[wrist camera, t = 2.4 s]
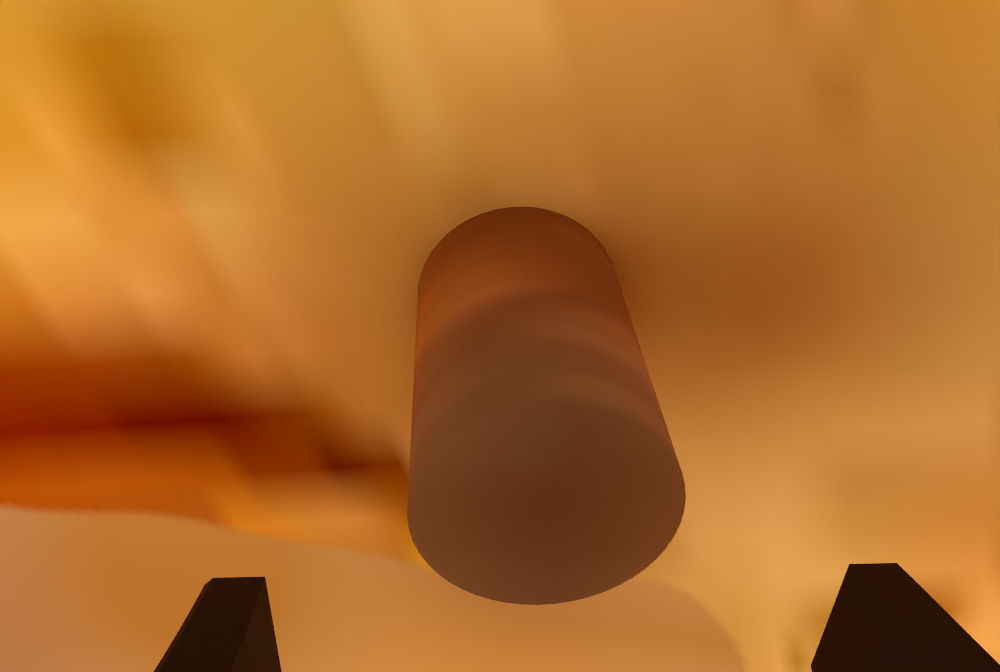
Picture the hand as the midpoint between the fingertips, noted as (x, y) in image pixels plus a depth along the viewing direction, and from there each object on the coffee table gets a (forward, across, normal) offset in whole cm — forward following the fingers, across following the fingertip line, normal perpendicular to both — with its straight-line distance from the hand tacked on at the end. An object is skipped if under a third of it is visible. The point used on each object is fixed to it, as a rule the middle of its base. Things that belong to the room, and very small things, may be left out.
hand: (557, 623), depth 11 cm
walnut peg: (+8, 0, 0) cm, 8 cm away
